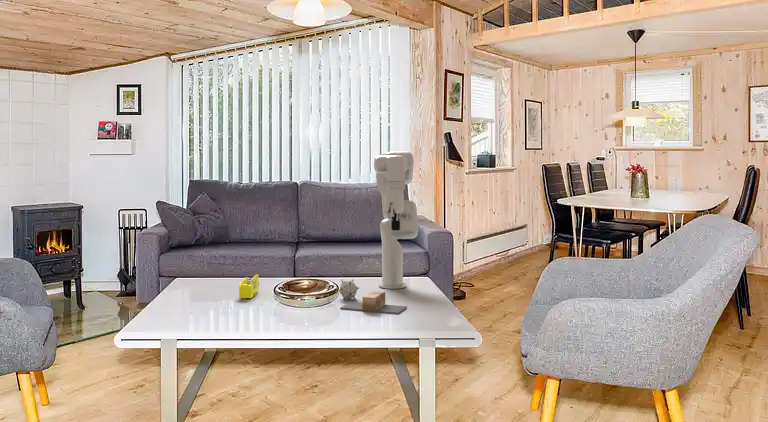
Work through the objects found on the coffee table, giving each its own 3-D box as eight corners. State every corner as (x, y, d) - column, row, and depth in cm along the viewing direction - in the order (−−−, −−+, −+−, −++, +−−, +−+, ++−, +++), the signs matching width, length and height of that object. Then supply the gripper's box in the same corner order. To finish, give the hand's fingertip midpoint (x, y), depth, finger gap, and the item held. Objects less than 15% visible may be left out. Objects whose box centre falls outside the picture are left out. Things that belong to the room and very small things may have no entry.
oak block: (373, 290, 237) (362, 296, 226) (385, 291, 235) (374, 297, 224) (373, 302, 237) (362, 309, 226) (385, 303, 236) (374, 310, 224)
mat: (351, 303, 240) (351, 301, 240) (407, 307, 231) (407, 306, 231) (340, 309, 230) (340, 307, 230) (398, 314, 222) (398, 312, 221)
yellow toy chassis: (252, 299, 247) (251, 280, 246) (238, 299, 247) (238, 280, 246) (260, 291, 263) (259, 273, 262) (247, 291, 263) (246, 273, 262)
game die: (351, 308, 246) (355, 292, 240) (333, 300, 247) (336, 284, 241) (359, 294, 253) (363, 278, 246) (341, 286, 254) (345, 270, 248)
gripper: (393, 185, 251) (393, 228, 252) (380, 186, 237) (380, 231, 238) (409, 185, 248) (409, 228, 250) (398, 186, 234) (398, 232, 236)
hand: (395, 230), depth 244 cm, fingers closed
